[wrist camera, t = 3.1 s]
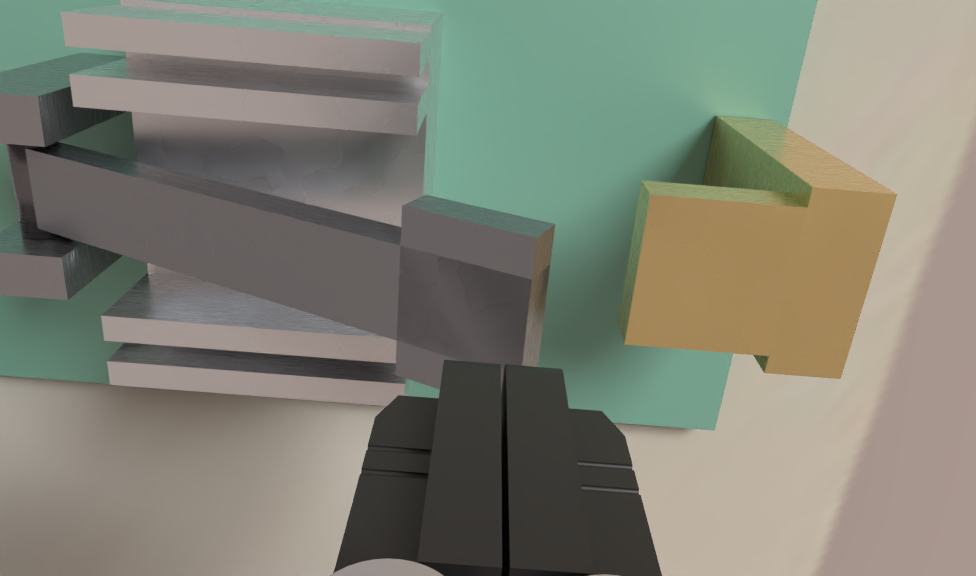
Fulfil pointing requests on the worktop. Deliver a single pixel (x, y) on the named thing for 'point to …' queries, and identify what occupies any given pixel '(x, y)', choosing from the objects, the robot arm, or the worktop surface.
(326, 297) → the strap
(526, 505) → the robot arm
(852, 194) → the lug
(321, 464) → the worktop surface
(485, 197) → the pcb board
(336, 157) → the heat sink
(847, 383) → the worktop surface
